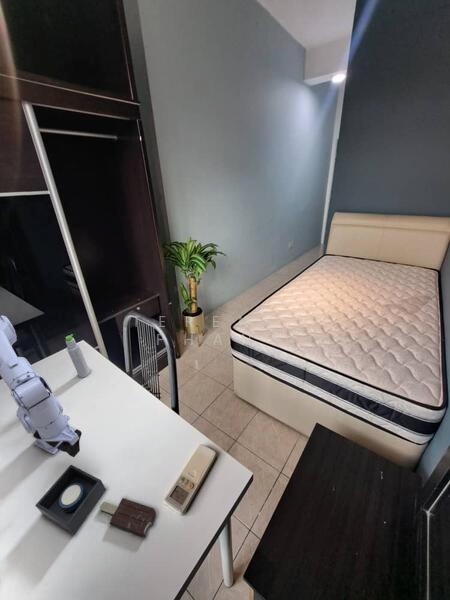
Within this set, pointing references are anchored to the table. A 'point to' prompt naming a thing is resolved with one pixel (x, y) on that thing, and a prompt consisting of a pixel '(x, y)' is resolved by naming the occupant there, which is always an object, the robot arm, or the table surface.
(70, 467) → the tub
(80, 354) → the bottle
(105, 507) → the ice cream bar
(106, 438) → the table surface
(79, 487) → the rice dish
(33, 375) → the robot arm
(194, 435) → the table surface
